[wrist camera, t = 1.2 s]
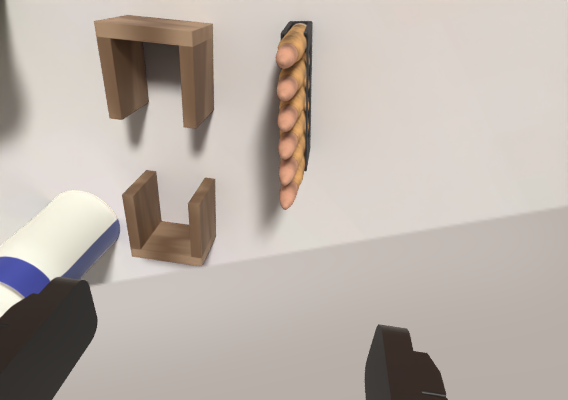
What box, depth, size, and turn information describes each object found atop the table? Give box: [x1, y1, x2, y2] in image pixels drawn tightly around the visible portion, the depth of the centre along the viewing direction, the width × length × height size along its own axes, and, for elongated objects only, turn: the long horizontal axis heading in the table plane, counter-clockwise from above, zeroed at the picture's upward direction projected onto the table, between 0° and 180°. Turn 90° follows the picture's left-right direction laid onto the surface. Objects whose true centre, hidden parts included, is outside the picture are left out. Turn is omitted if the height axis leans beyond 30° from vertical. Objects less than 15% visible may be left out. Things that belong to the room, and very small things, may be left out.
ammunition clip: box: [276, 21, 312, 210], centre depth 27 cm, size 11×2×12 cm, turn 1°
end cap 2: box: [122, 170, 216, 266], centre depth 37 cm, size 7×7×5 cm
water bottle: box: [0, 190, 120, 317], centre depth 31 cm, size 8×8×25 cm
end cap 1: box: [94, 15, 214, 129], centre depth 30 cm, size 7×7×5 cm
